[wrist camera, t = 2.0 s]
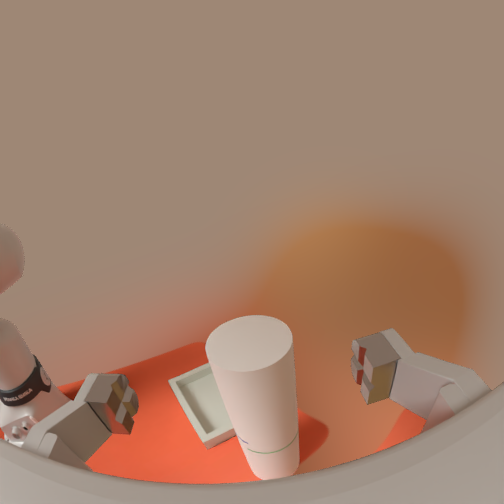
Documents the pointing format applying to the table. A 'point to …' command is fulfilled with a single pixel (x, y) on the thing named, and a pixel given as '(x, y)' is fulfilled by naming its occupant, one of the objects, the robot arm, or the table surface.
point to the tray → (203, 405)
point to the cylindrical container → (259, 390)
